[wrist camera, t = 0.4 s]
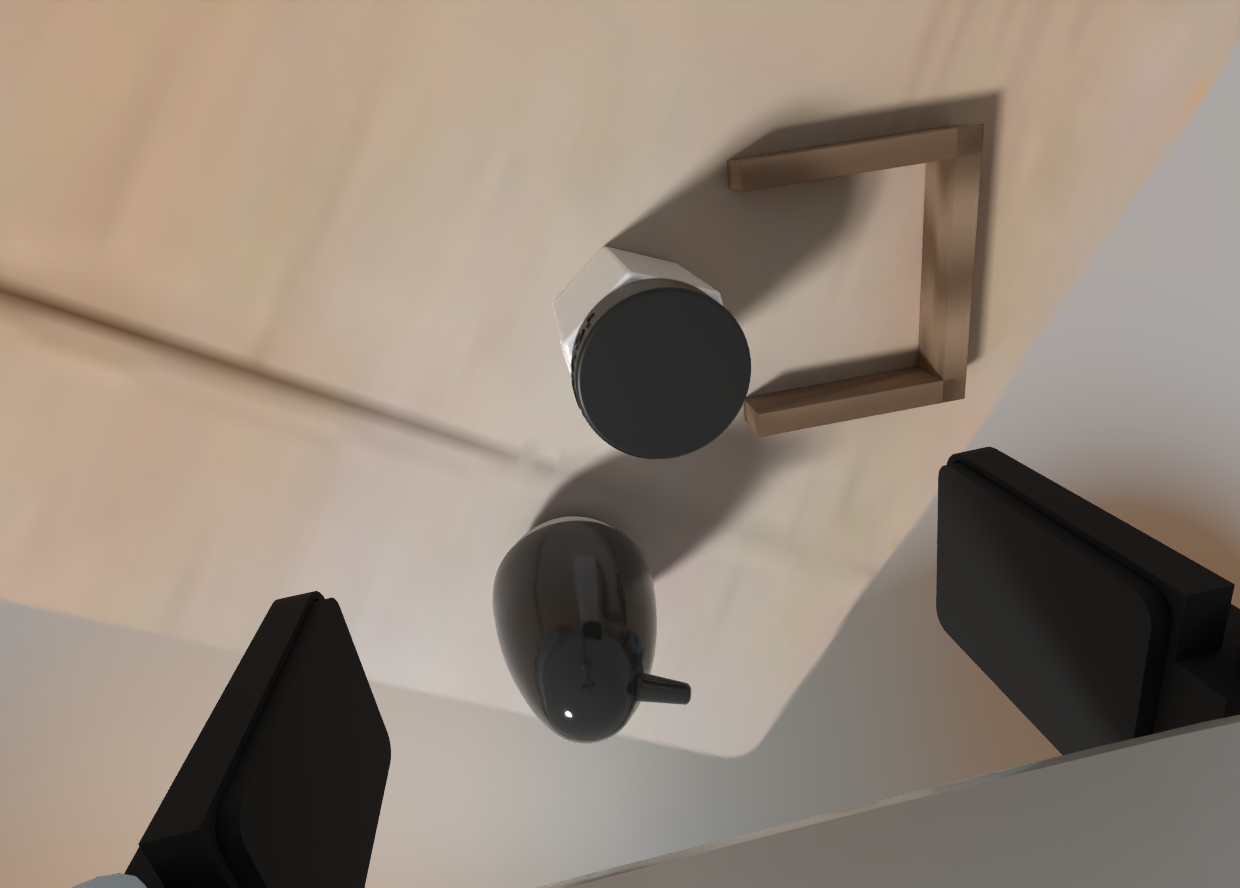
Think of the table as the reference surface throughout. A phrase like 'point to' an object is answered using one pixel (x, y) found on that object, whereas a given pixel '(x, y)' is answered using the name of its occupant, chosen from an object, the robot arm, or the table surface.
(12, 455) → the table surface
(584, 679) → the pump dispenser
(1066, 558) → the robot arm
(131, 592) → the table surface
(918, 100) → the table surface
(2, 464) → the table surface
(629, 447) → the jar
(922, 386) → the walnut bay
